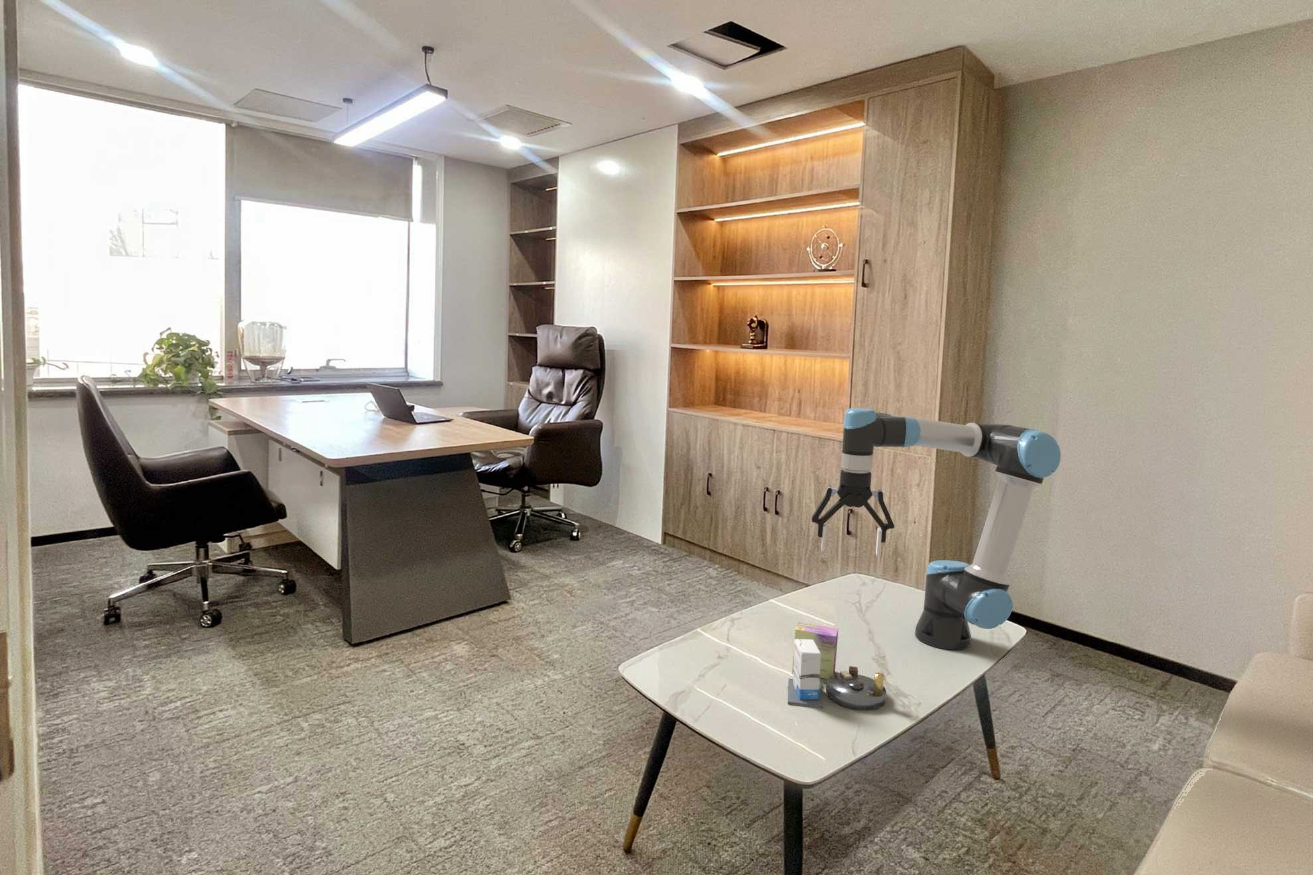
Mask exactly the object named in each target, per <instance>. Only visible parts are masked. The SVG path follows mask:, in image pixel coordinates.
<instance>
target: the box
mask: <svg viewBox="0 0 1313 875" xmlns="http://www.w3.org/2000/svg"><path fill="white" fill-rule="evenodd" d="M794 631H795V632H794V640H795V639H813V640H814V642H815V644H816V646H817V648H818V649H819V651H820V653H821V662H820V679H825V680H826V679H827V680H828V678H830V677H831V676H833V675H835V672H836V665H837V664H836V662H837V651H838V638H839V628H836V627H829V626H822V625H819V624H818V625H817V624H812V623H805V622H800V621H799V622H798V623H797V625H796V627H795V630H794ZM793 671H794V653H793V656H792V671H791V672H792V673H793Z"/></svg>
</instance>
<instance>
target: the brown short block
mask: <svg viewBox="0 0 1313 875" xmlns="http://www.w3.org/2000/svg"><path fill="white" fill-rule="evenodd" d="M848 673H849V674H858V675H859V669H858V666H853V665H852V666H851V665H849V667H848Z"/></svg>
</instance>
